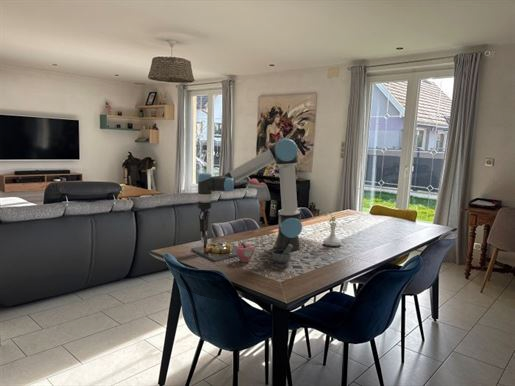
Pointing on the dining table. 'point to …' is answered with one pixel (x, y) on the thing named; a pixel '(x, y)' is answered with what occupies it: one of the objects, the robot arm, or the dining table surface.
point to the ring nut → (217, 249)
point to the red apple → (245, 252)
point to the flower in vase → (331, 239)
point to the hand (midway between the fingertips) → (203, 242)
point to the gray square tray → (216, 256)
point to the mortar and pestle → (282, 256)
